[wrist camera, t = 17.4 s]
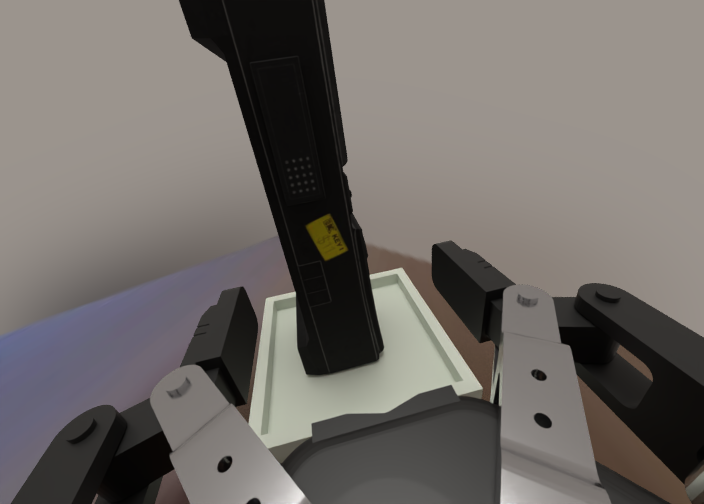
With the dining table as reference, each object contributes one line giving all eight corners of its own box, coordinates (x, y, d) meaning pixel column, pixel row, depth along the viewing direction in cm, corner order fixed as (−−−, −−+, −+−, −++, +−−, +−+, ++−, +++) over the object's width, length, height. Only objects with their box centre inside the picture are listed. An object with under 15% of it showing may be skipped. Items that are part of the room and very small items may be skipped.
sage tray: (254, 470, 16) (244, 454, 15) (271, 312, 28) (266, 298, 27) (480, 406, 17) (483, 388, 16) (402, 281, 29) (401, 267, 28)
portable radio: (392, 371, 19) (330, -245, 7) (308, 394, 19) (85, -238, 7) (365, 302, 26) (311, -75, 14) (303, 317, 26) (189, -64, 13)
